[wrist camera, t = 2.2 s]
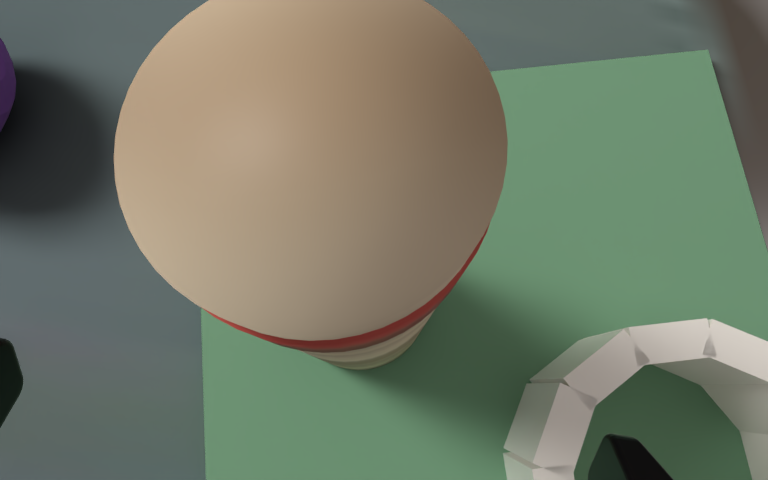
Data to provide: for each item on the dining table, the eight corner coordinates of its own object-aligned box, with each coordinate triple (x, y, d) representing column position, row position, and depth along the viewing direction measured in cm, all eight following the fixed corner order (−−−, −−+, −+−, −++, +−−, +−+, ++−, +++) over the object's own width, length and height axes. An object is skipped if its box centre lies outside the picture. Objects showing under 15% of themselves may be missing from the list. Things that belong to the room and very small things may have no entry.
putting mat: (901, 746, 16) (917, 758, 15) (222, 839, 15) (217, 855, 15) (700, 57, 21) (708, 49, 21) (199, 108, 21) (194, 101, 20)
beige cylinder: (436, 363, 18) (546, 313, 6) (296, 379, 18) (106, 364, 6) (418, 228, 19) (478, -50, 7) (286, 243, 19) (112, -14, 7)
